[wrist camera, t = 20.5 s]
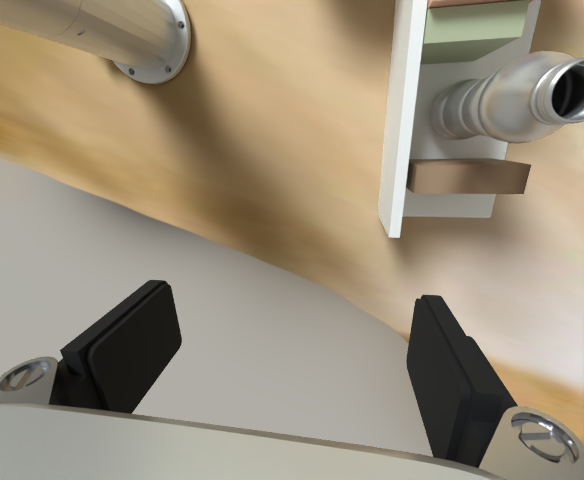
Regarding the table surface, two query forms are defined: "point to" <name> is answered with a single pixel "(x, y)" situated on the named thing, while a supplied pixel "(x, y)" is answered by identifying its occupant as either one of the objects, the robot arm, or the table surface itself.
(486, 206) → the shelf
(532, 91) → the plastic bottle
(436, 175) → the bookend
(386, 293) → the table surface
